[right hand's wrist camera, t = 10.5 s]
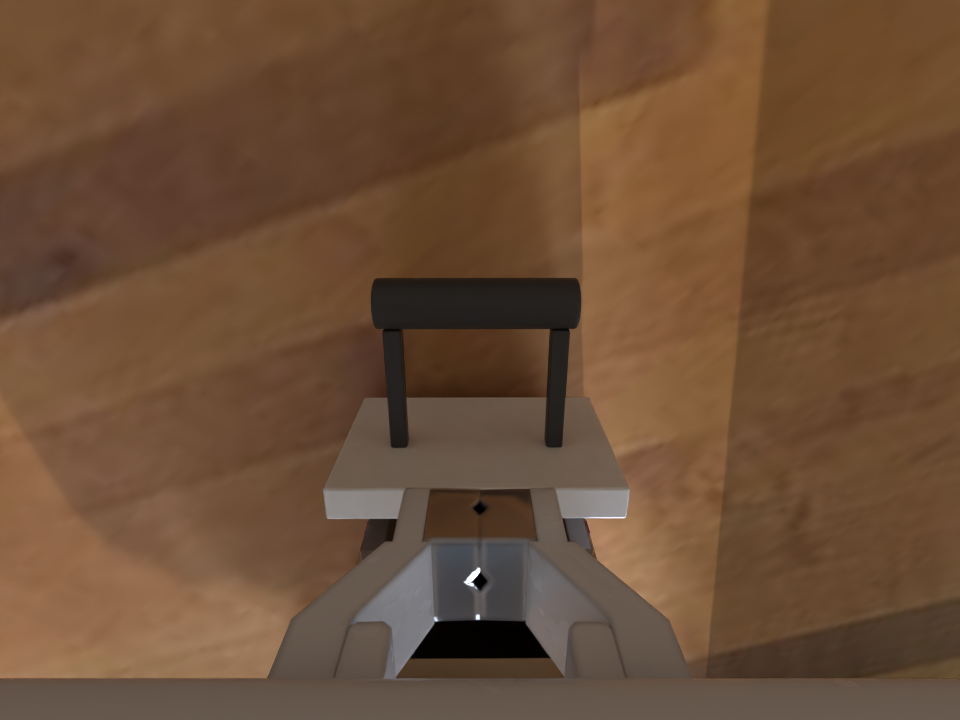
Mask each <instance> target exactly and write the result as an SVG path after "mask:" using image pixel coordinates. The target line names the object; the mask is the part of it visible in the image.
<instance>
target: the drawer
mask: <svg viewBox="0 0 960 720" xmlns="http://www.w3.org/2000/svg"><path fill="white" fill-rule="evenodd" d="M580 311H581V292H580V285H579V282H578V280H577V279H576V278H377V279H375V280H374V282H373V285H372V291H371V312H372V319H373V323H374V326H375V328H377V329H384V330H383V332H382V333H383V346H384V360H385V374H386V387H387V398H364V400H363V402H362V405H361V407H360V409H359V411H358V413H357V416H356V418H355V420H354V422H353V424H352V427H351V429H350V431H349V433H348V435H347V438H346V440H345V442H344V444H343V446H342V449H341V451H340V453H339V455H338V457H337V460H336V462H335V464H334V466H333V468H332V470H331V473H330V475H329V477H328V479H327V481H326V484H325V486H324V488H323V495H324V503H325V510H326V517H327V518H328V519H369V522H368V525H367V529H366V532H365V536H364V539H363V542H362V546H361V549H360V553H361V561H362V560H364V559H365V558H366V557H367V556H368V555H370V554H371V553H372V552H373V551H374V550H376V549H377V548H378V547H379V546H380V545H382V544H383V543H384V542H392V541H393V537H394V532H395V528H396V523H397V519H398V515H399V510H400V506H401V501H402V497H403V492H404V490H405V489H406V488H470V489H529V488H546V487H553V488H554V489H555V490H556V493H557V497H558V502H559V506H560V511H561V515H562V519H563V524H564V528H565V533H566V537H567V541H568V542H576V543H577V544H578V545H580V546H581V547H582V548H583V549H584V550H586V551H587V552H588V553H589V554H590V555H593V548H592V544H591V541H590V537H589V534H588V531H587V527H586V524H585V520H584V518H626V515H627V508H628V500H629V492H630V488H629V486H628V484H627V481H626V479H625V477H624V475H623V472H622V470H621V468H620V466H619V463H618V461H617V459H616V457H615V455H614V452H613V450H612V448H611V446H610V443H609V441H608V439H607V437H606V434H605V432H604V430H603V428H602V425H601V423H600V421H599V419H598V416H597V414H596V412H595V410H594V407H593V405H592V403H591V401H590V398H588V397H566V382H567V367H568V352H569V337H570V331H569V329H575V328H577V326H578V323H579V319H580ZM403 329H550V337H549V357H548V377H547V396H546V397H496V398H406V381H405V363H404V346H403ZM430 658H550V656H549V655H548V654H547V652H546V651H545V650H544V648H543V647H542V645H541V644H540V643H539V641H538V640H537V639H536V637H535V636H534V634H533V633H532V632H531V630H530V629H529V627H528V626H527V625H526V621H499V620H460V621H434V625H433V627H432V628H431V629H430V631H429V632H428V634H427V635H426V636H425V638H424V639H423V640H422V642H421V643H420V644H419V646H418V647H417V649H416V650H415V651H414V653H413V654H412V655H411V657H410V658H409V659H430Z"/></svg>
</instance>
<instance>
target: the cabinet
mask: <svg viewBox="0 0 960 720" xmlns="http://www.w3.org/2000/svg"><path fill="white" fill-rule="evenodd" d="M368 522H369V521H368ZM585 524H586V527H587V531H588V534H589V537H590V531H589V528H588V524H587V521H585ZM367 525H368V524H367ZM366 529H367V527H366ZM365 532H366V530H365ZM590 541H591V544H592V540H591V537H590ZM592 548H593V555H592V556H593V557H594V558H595V559H596V560H597V558H596V554H595V551H594V547H593V544H592ZM360 562H361V553H359V557H358V560H357V563H356V565H357V564H359V563H360ZM396 678H564V676H563V674H562V673H561V672H560V670H559V669H558V667H557V666H556V665H555V663H554V662H553V661H552V659H551V658H430V659H409V660H408V661H407V662H406V664H405V665H404V666H403V668H402V669H401V671H400V672H399V673H398V675H397V676H396Z"/></svg>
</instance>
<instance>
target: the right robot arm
mask: <svg viewBox="0 0 960 720" xmlns="http://www.w3.org/2000/svg"><path fill="white" fill-rule="evenodd" d="M460 620H499V621H526V625H527V626H528V627H529V629H530V630H531V632H532V633H533V634H534V636H535V637H536V639H537V640H538V641H539V643H540V644H541V645H542V647H543V648H544V650H545V651H546V652H547V654H548V655H549V656H550V658H551V659H552V661H553V662H554V663H555V665H556V666H557V667H558V669H559V670H560V672H561V673H562V674H563V676H564V678H396V676H397V675H398V673H399V672H400V671H401V669H402V668H403V666H404V665H405V664H406V662H407V661H408V660H409V658H410V657H411V655H412V654H413V653H414V651H415V650H416V649H417V647H418V646H419V644H420V643H421V642H422V640H423V639H424V638H425V636H426V635H427V634H428V632H429V631H430V629H431V628H432V627H433V625H434V621H460ZM0 720H960V678H692V675H691V673H690V670H689V668H688V665H687V663H686V660H685V658H684V655H683V653H682V650H681V648H680V646H679V643H678V641H677V638H676V636H675V633H674V631H673V628H672V626H671V623H670V621H669V619H667V618H666V617H665V616H664V615H663V614H661V613H660V612H659V611H658V610H657V609H655V608H654V607H653V606H652V605H651V604H649V603H648V602H647V601H646V600H645V599H643V598H642V597H641V596H640V595H639V594H637V593H636V592H635V591H634V590H633V589H631V588H630V587H629V586H628V585H627V584H625V583H624V582H623V581H622V580H620V579H619V578H618V577H617V576H616V575H614V574H613V573H612V572H611V571H610V570H608V569H607V568H606V567H605V566H604V565H602V564H601V563H600V562H599V561H598V560H596V559H595V558H594V557H593V556H592V555H590V554H589V553H588V552H587V551H586V550H584V549H583V548H582V547H581V546H580V545H578V544H577V543H576V542H568V541H567V537H566V533H565V528H564V524H563V519H562V515H561V511H560V506H559V502H558V497H557V493H556V490H555V489H554V488H553V487H546V488H529V489H470V488H406V489H405V490H404V492H403V497H402V501H401V506H400V510H399V515H398V519H397V523H396V528H395V532H394V537H393V541H392V542H384V543H383V544H382V545H380V546H379V547H378V548H377V549H376V550H374V551H373V552H372V553H371V554H370V555H368V556H367V557H366V558H365V559H364V560H362V561H361V562H360V563H359V564H357V565H356V566H355V567H354V568H353V569H351V570H350V571H349V572H348V573H347V574H345V575H344V576H343V577H342V578H341V579H339V580H338V581H337V582H336V583H334V584H333V585H332V586H331V587H330V588H328V589H327V590H326V591H325V592H324V593H322V594H321V595H320V596H319V597H318V598H316V599H315V600H314V601H313V602H311V603H310V604H309V605H308V606H307V607H305V608H304V609H303V610H302V611H301V612H299V613H298V614H297V615H296V616H295V617H293V618H292V619H291V621H290V624H289V626H288V629H287V631H286V634H285V636H284V638H283V641H282V643H281V646H280V648H279V651H278V653H277V656H276V658H275V661H274V663H273V665H272V668H271V670H270V673H269V675H268V678H0Z"/></svg>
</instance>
